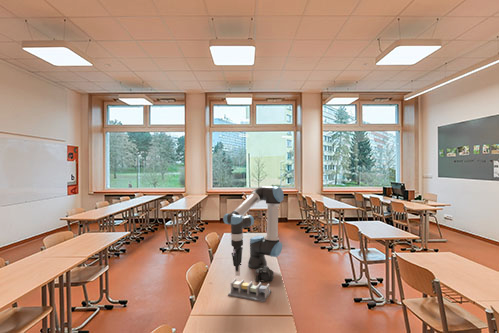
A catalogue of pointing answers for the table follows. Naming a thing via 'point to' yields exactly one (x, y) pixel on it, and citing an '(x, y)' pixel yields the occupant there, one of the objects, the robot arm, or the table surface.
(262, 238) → the robot arm
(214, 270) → the table surface
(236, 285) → the key cream
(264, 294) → the grey slotted rack
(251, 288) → the key sage
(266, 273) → the camera
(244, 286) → the key mustard
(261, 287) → the key slate
